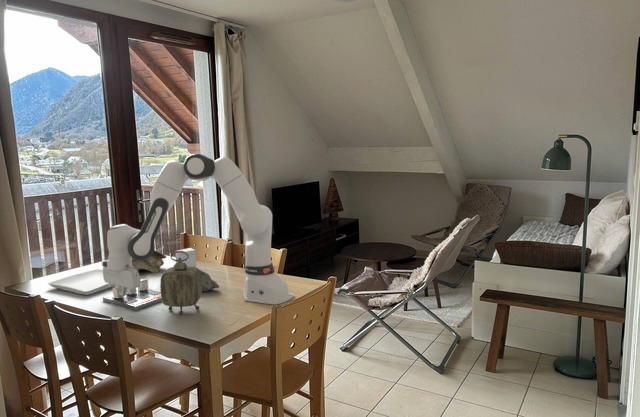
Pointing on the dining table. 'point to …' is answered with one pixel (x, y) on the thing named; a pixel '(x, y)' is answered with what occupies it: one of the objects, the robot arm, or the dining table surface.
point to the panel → (136, 299)
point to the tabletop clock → (181, 285)
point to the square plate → (83, 282)
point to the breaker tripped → (116, 292)
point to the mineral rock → (207, 282)
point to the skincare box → (192, 256)
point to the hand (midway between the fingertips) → (122, 295)
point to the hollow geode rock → (150, 262)
